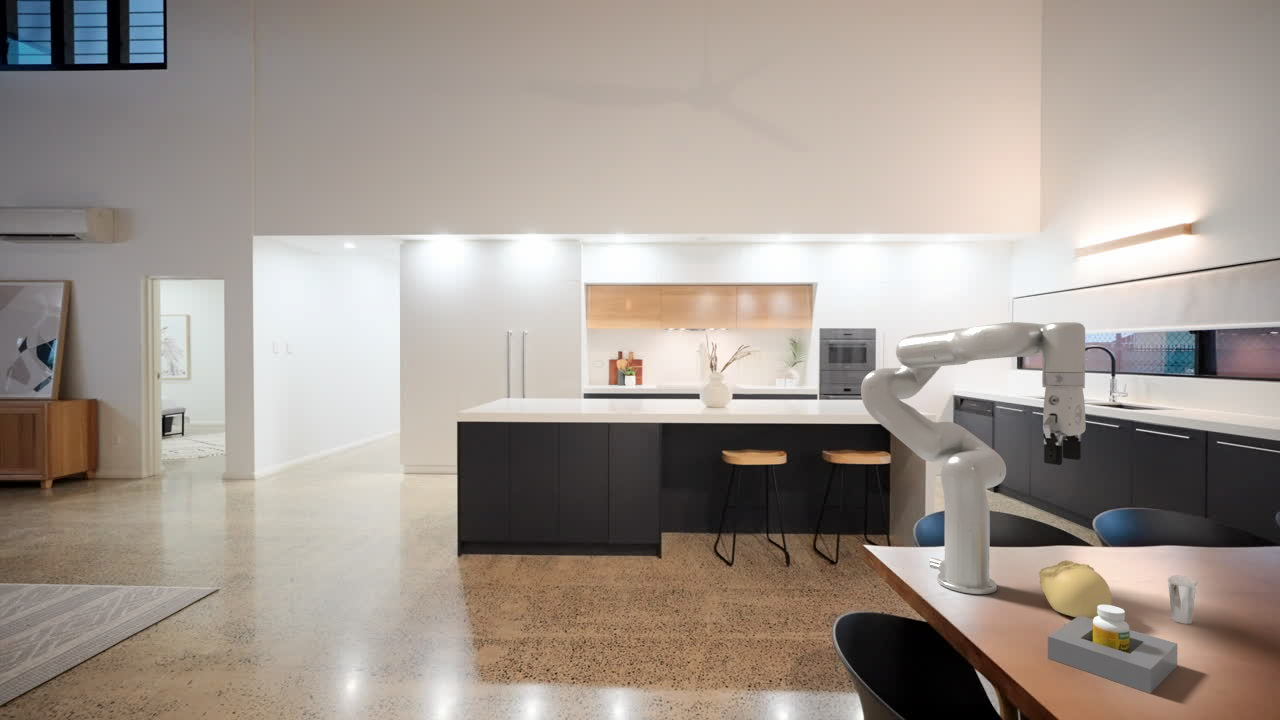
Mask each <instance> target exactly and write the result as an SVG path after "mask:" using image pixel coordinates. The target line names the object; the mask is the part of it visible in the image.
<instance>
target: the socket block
mask: <svg viewBox="0 0 1280 720" xmlns="http://www.w3.org/2000/svg"><path fill="white" fill-rule="evenodd" d="M1047 659H1050V660H1052V661H1055V662H1058V663H1060V664H1064V665H1066V666H1069V667H1073V668H1074V669H1078V670H1082V671H1083V672H1087V673H1090V674H1092V675H1095V676H1098V677H1101V678H1105V679H1106V680H1110V681H1112V682H1114V683H1115V682H1116V683H1118V684H1120V685H1124V686H1127V687H1131V688H1133V689H1136V690H1139V691H1141V692H1144V693H1147V694H1149V695H1150V694H1152V693H1153V691H1155V690H1156V688H1157V687H1158V686H1159V685H1160V684H1161V683H1163V682H1164V680H1165V679H1166V678H1167V677H1168V676H1170V674H1171V673H1172V672H1173V671H1174V670H1175V669H1176V668H1177V667H1178V642H1174V641H1170V640H1166V639H1163V638H1159V637H1156V636H1153V635H1149V634H1146V633H1142V632H1139V631H1136V630H1135V631H1134V630H1132V629H1130V654H1129V653H1126V652H1123V651H1120V650H1117V649H1113V648H1110V647H1107V646H1104V645H1101V644H1097V643H1094V642H1093V619H1091V618H1087V617H1084V616H1078V617H1074V618H1073V619H1072V620H1071V621H1069V622H1067V623H1066V624H1064V625H1063V626H1061V627H1060V628H1058V629H1057V630H1055V631H1054V632H1052V633H1051V634H1049V635H1048V636H1047Z"/></svg>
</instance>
